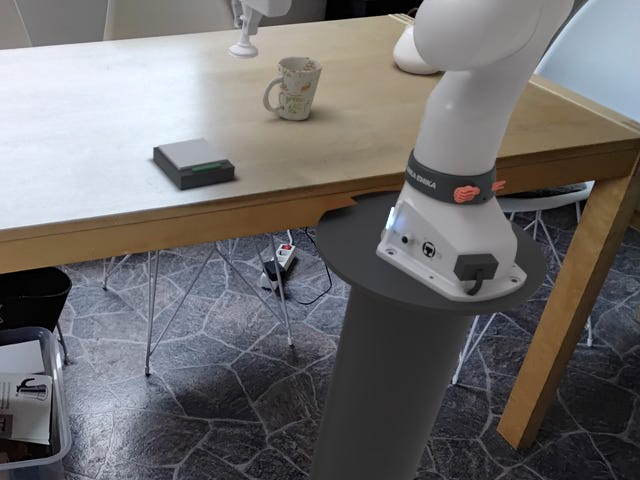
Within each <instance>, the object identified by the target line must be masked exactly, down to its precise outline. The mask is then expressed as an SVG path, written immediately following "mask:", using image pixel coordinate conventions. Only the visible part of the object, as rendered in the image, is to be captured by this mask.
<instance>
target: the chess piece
mask: <svg viewBox="0 0 640 480" xmlns="http://www.w3.org/2000/svg"><path fill="white" fill-rule="evenodd" d="M241 4H242V8H243V13H244V14H243V15H241V16H240V19H241V20H243V25H242V29H241V32H240V36H239V41H237V44H233V45H231V46H230V47H229V49H228V55H229V56H231V57H232V58H236V59H242V60H244V59H245V60H246V59H247V60H248V59H254V58H257V57H258V56H259V49H258V48H257V47H256V46H255V45H252V42H251V41H250V36H249V35H247V34H246V33H245V32H244V22H247V20H248V17H249V14H250V13H248V5H246V4H244V3H242V2H241Z"/></svg>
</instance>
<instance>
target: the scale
mask: <svg viewBox="0 0 640 480" xmlns="http://www.w3.org/2000/svg"><path fill="white" fill-rule="evenodd" d="M152 148H153V149H152V161H153V162H154V163H155V164H156V165H157V166H158V167H159V168H160V170H162V171H163V172H164V173H165V175H167V177H168V178H169V179H170V180H171V181H172V182H173V183H174V184H175V185H176V187H177V188H178V189H180V191H182V190H187V189H192V188H197V187H202V186H203V187H204V186H208V185H212V184H217V183H222V182H228V181H233V180H235V171H236V166H235V165H234V164H233V163H232V162H231V161H230V160H229V159H228V158H226V157H225V156H224V155H223V154H222V153H221V152H220V151H219V150H218V149H217V148H215V146H213V145H212V144H211V143H210V142H209V141H208V140H207V139H205V137H199V138H194V139H193V138H192V139H188V140H187V139H186V140H181V141H177V142H171V143H164V144H159V145H157V146H153V147H152Z"/></svg>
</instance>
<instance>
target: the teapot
mask: <svg viewBox="0 0 640 480" xmlns="http://www.w3.org/2000/svg"><path fill="white" fill-rule="evenodd" d="M413 26H414V25H410V24H408V25H407V24H406V26H405V27H404V32H403V33H402V34H401V36H400V37H399V39H398V41H397V42H396V44H395V46H394V48H393V51H392V57H393V61H394V62H395V64H396V65H397V66H398V68H400V70H402V71H405V72H407V73H411V74H416V75H432V74H436V73H438V72H439V71H440V70H437V69H434V68H432V67H430V66H429V65H428V64H426V63H425V62H424V61H423V59H422V58H421V57H420V55H419V54H418V52H417V49H416V47H415V43H414V38H413Z"/></svg>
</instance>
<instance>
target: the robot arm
mask: <svg viewBox="0 0 640 480" xmlns="http://www.w3.org/2000/svg"><path fill="white" fill-rule="evenodd" d="M292 1H293V0H231V8H232V11H233V16H234V18H233V26H234V27H235V28H236V29H238V30H242V25H243V20H241V19H240V16H241V15H243V14H244V13H243V8H242V4H241V2H242V3H244V4H246V5H248V13H250V14H249V17H248V20H247V22H244V32H245V33H246V34H247V35H249V37H251V36H256V35H258V31H259V24H260V22H261V20H262V18H263V16H265V17H267V18H274V17H283V16H286V15H287V14H288V12H289V10H290V9H291V7H292ZM574 3H575V0H423V1H422V3H421V4H420V5H419V7H418V9H417V11H416V13H415V17H414V21H413V25H412V26H413V38H414V43H415V47H416V49H417V52H418V54H419V55H420V57H421V58H422V59H423V61H424V62H425V63H426V64H428V65H429V66H430V67H432V68H434V69H437V70H439V71H441V72H444V74H443V75H442V77H441V79H440V80H439V81H438V83H437V84H436V86H434V88H433V89H432V90H431V92H430V93H429V95H428V97H427V99H426V102H425V106H424V109H423V113H422V117H421V121H420V125H419V129H418V134H417V136H416V140H415V144H414V147H413V148H412V149H411V150H410V152H409V155H408V159H407V160H406V164H405V170H404V182H403V183H404V184H403V186H402V188H401V190H402V191H401V193H400V195H399V198H398V200H397V203H396V205H395V208H393V207H392V209H391V213H390V216H389V219H388V222H387V225H386V226H385V228H384V229H383V231H382V233H381V243H380V244H379V245H378V248H377V250H376V254H377V256H379V257H380V258H382V259H384V260H385V261H387V262H388V263H390V264H392V265H393V266H395V267H397V268H398V269H400V270H402V271H403V272H405V273H406V274H408V275H410V276H411V277H413V278H415V279H416V280H418V281H420V282H421V283H423V284H424V285H426V286H428V287H429V288H431V289H433V290H434V291H436V292H438V293H439V294H441V295H442V296H444V297H446V298H448V299H449V300H452V301H458V302H478V301H485V300H491V299H494V298H498V297H502V296H505V295H508V294H510V293H513V292H515V291H516V290H518V289H519V288H521V287H522V286H523V285H524V283H525V281H526V277H527V275H526V273H525V272H524V271H523V270H522V269H521V268H520V267H519V266H518V265H517V264H516V263H514V261H515V256H516V252H517V238H516V236H515V234H514V232H513V231H512V226H511V223H510V221H509V220H510V219H509V220H507V219H506V218H507V217H506V215H505V214H504V211H503V209H502V208H501V207H502V206H501V205H500V203H499V202H498V200H497V198H496V194H497V190H501V189H505V187H504V186H503V185H504V184H506V182H507V181H506V180H501V181H497V164H496V161H497V157H498V154H499V151H500V148H501V147H502V143H503V139H504V137H505V134H506V132H507V129H508V127H509V126H508V125H509V122H510V120H511V117H512V115H513V113H514V110H515V108H516V106H517V104H518V102H519V100H520V98H521V96H522V95H523V92H524V91H525V88H526V87H527V85H528V84H529V82H530V80H531V78H532V76H533V74H534V73H535V71H536V69H537V67H538V65H539V63H540V62H541V59H542V57H543V56H544V53H545V51H546V50H547V48H548V46H549V45H550V42H551V41H552V39H553V38H554V36H555V34H557V32H558V30H559V29H560V28H561V26H563V24H564V23H565V22H566V20H567V19H568V17H569V16H570V14H571V12H572V9H573V7H574Z"/></svg>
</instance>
